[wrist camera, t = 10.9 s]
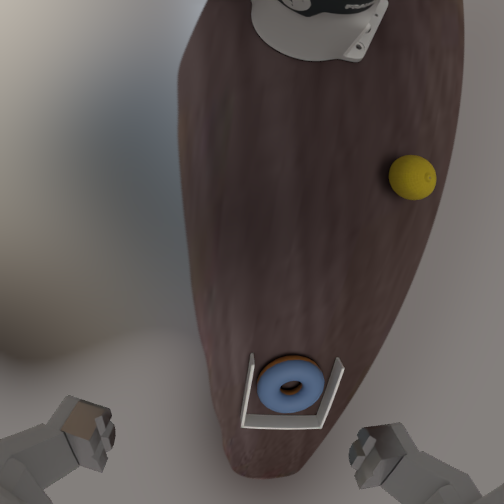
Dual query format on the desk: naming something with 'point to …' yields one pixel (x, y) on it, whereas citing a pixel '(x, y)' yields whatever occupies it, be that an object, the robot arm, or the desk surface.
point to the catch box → (291, 420)
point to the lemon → (412, 177)
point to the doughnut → (285, 372)
